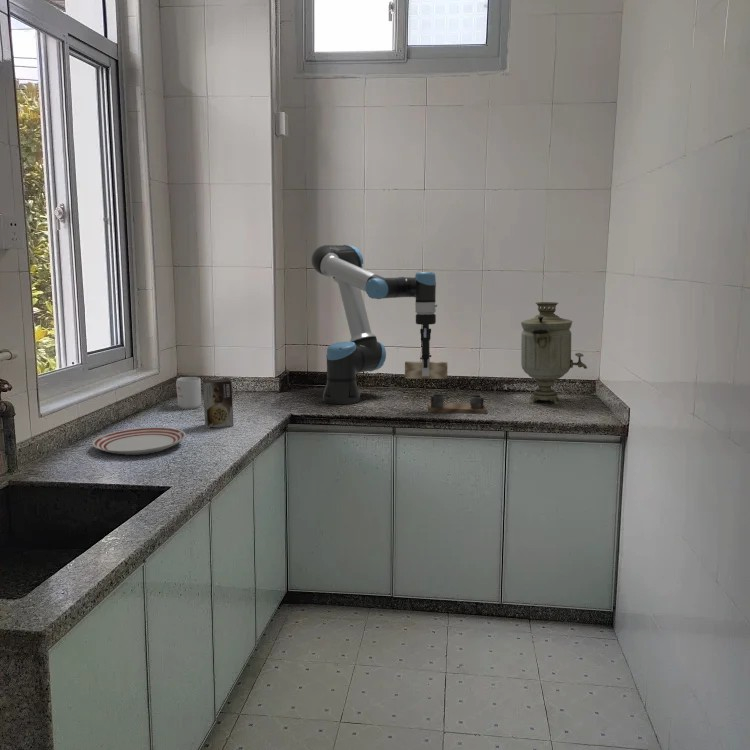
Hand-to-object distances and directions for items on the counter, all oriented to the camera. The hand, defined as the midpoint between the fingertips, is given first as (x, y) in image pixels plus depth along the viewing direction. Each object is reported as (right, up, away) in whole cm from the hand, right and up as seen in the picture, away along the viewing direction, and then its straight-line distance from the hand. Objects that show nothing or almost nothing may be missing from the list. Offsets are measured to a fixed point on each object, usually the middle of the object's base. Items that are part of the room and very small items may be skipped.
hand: (425, 375), depth 272 cm
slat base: (+12, -13, +2) cm, 18 cm away
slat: (0, -1, 0) cm, 1 cm away
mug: (-92, -12, +6) cm, 93 cm away
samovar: (+51, -11, +17) cm, 55 cm away
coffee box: (-73, -18, -23) cm, 79 cm away
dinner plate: (-92, -23, -51) cm, 107 cm away
